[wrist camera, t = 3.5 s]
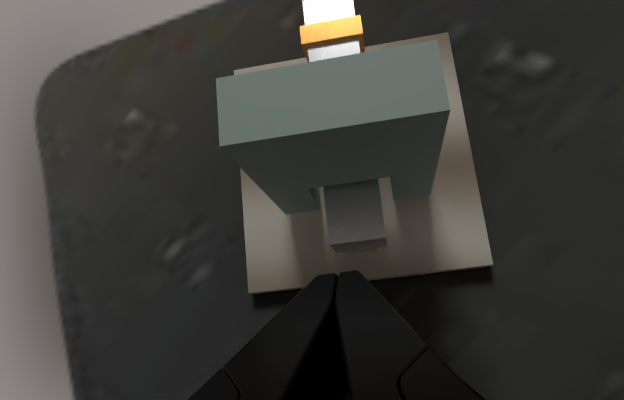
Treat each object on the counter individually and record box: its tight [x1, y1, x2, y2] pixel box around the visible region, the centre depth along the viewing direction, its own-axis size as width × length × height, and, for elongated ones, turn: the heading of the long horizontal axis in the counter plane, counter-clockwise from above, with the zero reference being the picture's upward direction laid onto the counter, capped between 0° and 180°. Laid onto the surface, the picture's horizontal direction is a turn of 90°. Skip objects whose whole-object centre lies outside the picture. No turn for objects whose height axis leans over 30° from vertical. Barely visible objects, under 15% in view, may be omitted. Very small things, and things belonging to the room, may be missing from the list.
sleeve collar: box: [216, 40, 450, 215], centre depth 17 cm, size 3×6×8 cm, turn 95°
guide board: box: [234, 32, 493, 294], centre depth 23 cm, size 10×10×1 cm
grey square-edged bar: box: [300, 0, 387, 255], centre depth 21 cm, size 10×2×4 cm, turn 6°
